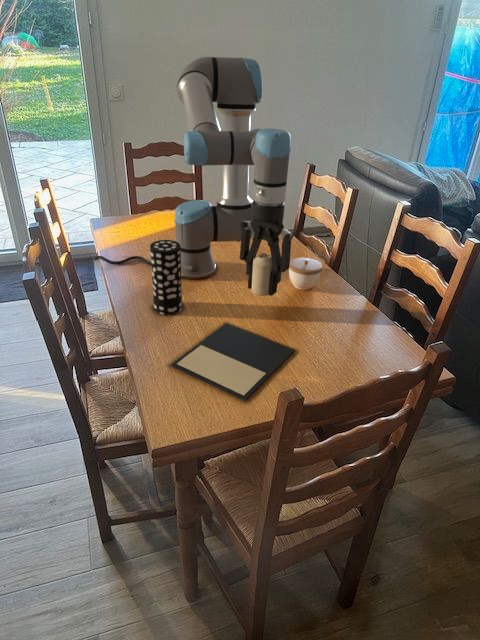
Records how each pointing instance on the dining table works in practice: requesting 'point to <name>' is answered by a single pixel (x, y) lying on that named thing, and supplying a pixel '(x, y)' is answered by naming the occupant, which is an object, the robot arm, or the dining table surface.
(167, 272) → the spotted tube
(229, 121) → the robot arm
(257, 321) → the dining table surface
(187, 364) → the table mat
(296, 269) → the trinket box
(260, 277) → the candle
